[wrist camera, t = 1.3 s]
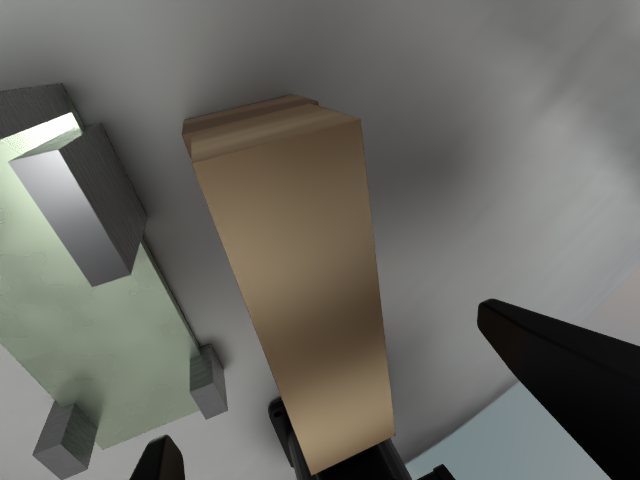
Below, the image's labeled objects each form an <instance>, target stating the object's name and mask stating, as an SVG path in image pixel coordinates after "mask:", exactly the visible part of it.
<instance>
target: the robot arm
mask: <svg viewBox="0 0 640 480" xmlns="http://www.w3.org/2000/svg"><path fill="white" fill-rule="evenodd" d="M477 325H478V328H479V330H480V331H481V333H482V334H483V335H484V336H485V338H486V339H487V340H488V342H489V343H490V344H491V346H492V347H493V348H494V349H495V351H496V352H497V353H498V355H499V356H500V357H501V359H502V360H503V361H504V362H505V364H506V365H507V366H508V368H509V369H510V370H511V371H512V373H513V374H514V375H515V376H516V377H517V378H518V379H519V381H520V382H521V383H522V384H523V385H524V386H525V387H526V388H527V389H528V390H529V391H530V392H531V393H532V395H533V396H534V397H535V398H536V399H537V400H538V401H539V402H540V403H541V404H542V405H543V406H544V407H545V409H546V410H547V411H548V412H549V413H550V414H551V415H552V416H553V417H554V418H555V419H556V420H557V421H558V423H559V424H560V425H561V426H562V427H563V428H564V429H565V430H566V431H567V432H568V433H569V434H570V435H571V436H572V438H573V439H574V440H575V441H576V442H577V443H578V444H579V445H580V446H581V447H582V448H583V449H584V450H585V452H586V453H587V454H588V455H589V456H590V457H591V458H592V459H593V460H594V461H595V462H596V463H597V464H598V465H599V467H600V468H601V469H602V470H603V471H604V472H605V473H606V474H607V475H608V476H609V477H610V478H611V479H612V480H640V346H637V345H634V344H631V343H628V342H625V341H621V340H619V339H616V338H613V337H610V336H607V335H604V334H601V333H597V332H594V331H591V330H588V329H585V328H582V327H579V326H576V325H573V324H570V323H567V322H564V321H561V320H558V319H555V318H552V317H549V316H545V315H542V314H539V313H536V312H533V311H530V310H527V309H524V308H521V307H518V306H515V305H512V304H509V303H506V302H503V301H500V300H497V299H488V300H486V301H483V302H481V303H480V304H479V306H478V316H477ZM268 412H269V417H270V419H271V422H272V424H273V426H274V429H275V431H276V433H277V436H278V438H279V440H280V442H281V445H282V447H283V449H284V452H285V454H286V456H287V458H288V461H289V463H290V465H291V467H293V468H294V469H295V473H296V477H297V480H412V478H411V476H410V474H409V472H408V471H407V469H406V467H405V465H404V463H403V461H402V459H401V458H400V456H399V454H398V452H397V450H396V448H395V446H394V445H393V443H392V441H391V439H390V438H388V439H386V440H384V441H382V442H380V443H378V444H376V445H374V446H372V447H370V448H368V449H366V450H364V451H362V452H360V453H357V454H355V455H353V456H351V457H349V458H347V459H345V460H343V461H341V462H339V463H337V464H335V465H333V466H331V467H328V468H326V469H324V470H322V471H320V472H318V473H316V474H314V475H311V473H310V470H309V467H308V465H307V462H306V460H305V457H304V455H303V452H302V449H301V447H300V444H299V442H298V439H297V436H296V434H295V431H294V429H293V426H292V423H291V421H290V418H289V416H288V413H287V410H286V408H285V405H284V403H283V400H281V401H278V402H276V403H274V404H272V405H271V406H270V407H269V409H268ZM129 480H185V473H184V463H183V457H182V454H181V452H180V450H179V449H178V447H177V446H176V444H175V443H174V442H173V440H172V439H171V438H170V436H169V435H163V436H161V437H158V438H156V439H153V440H152V441H150V442H149V443H148V445H147V446H146V448H145V450H144V452H143V454H142V456H141V458H140V460H139V462H138V464H137V466H136V468H135V470H134V472H133V474H132V476H131V478H130V479H129ZM417 480H455V478H454V477H453V476H452V475H451V473H450V472H449V471H448V469H447V468H446V467H445V466H444V465H443V464H441V465H439V466H437V467H435V468H434V469H433V472H431V473H429V474H427V475H425V476H423V477H421V478H419V479H417Z"/></svg>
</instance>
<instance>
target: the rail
mask: <svg viewBox="0 0 640 480" xmlns="http://www.w3.org/2000/svg"><path fill="white" fill-rule="evenodd" d="M191 157H192V166H193V169H194V171H195V174H196V177H197V179H198V182H199V184H200V187H201V190H202V192H203V195H204V197H205V200H206V203H207V205H208V208H209V210H210V213H211V216H212V218H213V221H214V223H215V226H216V229H217V231H218V234H219V236H220V239H221V242H222V244H223V247H224V249H225V252H226V255H227V257H228V260H229V262H230V265H231V267H232V270H233V273H234V275H235V278H236V280H237V283H238V286H239V288H240V291H241V293H242V296H243V299H244V301H245V304H246V306H247V309H248V312H249V314H250V317H251V319H252V322H253V325H254V327H255V330H256V332H257V335H258V338H259V340H260V343H261V345H262V348H263V351H264V353H265V356H266V358H267V361H268V364H269V366H270V369H271V371H272V374H273V377H274V379H275V382H276V384H277V387H278V390H279V392H280V395H281V397H282V400H283V403H284V405H285V408H286V410H287V413H288V416H289V418H290V421H291V423H292V426H293V429H294V431H295V434H296V436H297V439H298V442H299V444H300V447H301V449H302V452H303V455H304V457H305V460H306V462H307V465H308V467H309V470H310V473H311V475H314V474H316V473H318V472H320V471H322V470H324V469H326V468H328V467H331V466H333V465H335V464H337V463H339V462H341V461H343V460H345V459H347V458H349V457H351V456H353V455H355V454H357V453H360V452H362V451H364V450H366V449H368V448H370V447H372V446H374V445H376V444H378V443H380V442H382V441H384V440H386V439H388V438H391V437H393V436H395V427H394V418H393V408H392V399H391V390H390V381H389V372H388V363H387V354H386V345H385V336H384V327H383V318H382V309H381V300H380V291H379V282H378V273H377V264H376V255H375V245H374V236H373V227H372V218H371V209H370V200H369V191H368V182H367V173H366V164H365V155H364V146H363V137H362V128H361V119H359V118H355V117H352V116H349V115H346V114H343V113H339V112H336V111H333V110H330V109H326V108H323V107H320V106H317V105H313V104H306V105H302V106H298V107H294V108H290V109H286V110H282V111H277V112H273V113H269V114H265V115H261V116H257V117H253V118H249V119H245V120H241V121H237V122H233V123H229V124H225V125H221V126H217V127H213V128H208V129H204V130H200V131H196V132H192V133H191Z"/></svg>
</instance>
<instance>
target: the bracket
mask: <svg viewBox="0 0 640 480" xmlns="http://www.w3.org/2000/svg"><path fill="white" fill-rule="evenodd" d="M146 221H147V215H146V213H145V211H144V209H143V207H142V205H141V203H140V201H139V199H138V197H137V195H136V193H135V191H134V189H133V187H132V185H131V183H130V181H129V179H128V177H127V175H126V173H125V171H124V169H123V167H122V165H121V163H120V161H119V159H118V157H117V155H116V153H115V151H114V149H113V147H112V145H111V143H110V141H109V139H108V136H107V134H106V132H105V130H104V128H103V126H102V124H101V123H98V124H94V125H89V126H85V127H84V125H83V123H82V121H81V119H80V117H79V115H78V113H77V112H76V110H75V108H74V106H73V104H72V102H71V100H70V98H69V96H68V94H67V92H66V91H65V89H64V87H63V85H62V83H60V84H52V85H44V86H36V87H29V88H21V89H13V90H6V91H0V343H1V344H2V345H3V346H4V347H5V348H6V349H7V350H8V351H9V352H10V353H11V354H12V356H13V357H14V358H15V359H16V360H17V361H18V362H19V363H20V364H21V365H22V366H23V367H24V368H25V369H26V370H27V371H28V372H29V373H30V374H31V375H32V376H33V377H34V378H35V380H36V381H37V382H38V383H39V384H40V385H41V386H42V387H43V388H44V389H45V390H46V391H47V392H48V393H49V394H50V395H51V396H52V397H53V398H54V399H55V400H56V402H54V403H53V405H52V408H51V410H50V413H49V415H48V418H47V420H46V423H45V425H44V428H43V430H42V432H41V435H40V437H39V440H38V442H37V445H36V447H35V450H34V452H33V456H34V457H35V458H36V459H37V460H38V461H40V462H41V463H42V464H43V465H44V466H46V467H47V468H48V469H49V470H50V471H51V472H53V473H54V474H55V475H56V476H57V477H59V478H60V479H61V480H63V479H66V478H68V477H71V476H73V475H75V474H78V473H80V472H82V471H85V470H87V469H88V465H89V462H90V458H91V454H92V450H93V446H94V442H96V443H97V444H98V445H99V446H100V447H101V448H102V450H104V449H106V448H109V447H111V446H113V445H116V444H118V443H121V442H123V441H126V440H128V439H130V438H133V437H135V436H138V435H140V434H143V433H145V432H147V431H150V430H152V429H155V428H157V427H159V426H162V425H164V424H167V423H169V422H172V421H174V420H176V419H179V418H181V417H184V416H186V415H189V414H191V413H193V412H196V411H198V410H201V412H202V414H203V415H204V417H205V419H209V418H211V417H214V416H216V415H218V414H221V413H223V412H226V411H228V407H227V397H226V388H225V379H224V370H223V368H222V366H221V364H220V362H219V360H218V358H217V356H216V354H215V352H214V350H213V348H212V346H211V344H208V345H206V346H203V347H199V345H198V343H197V341H196V339H195V337H194V335H193V333H192V331H191V329H190V327H189V325H188V324H187V322H186V320H185V318H184V316H183V314H182V312H181V310H180V308H179V306H178V304H177V303H176V301H175V299H174V297H173V295H172V293H171V291H170V289H169V287H168V285H167V283H166V282H165V280H164V278H163V276H162V274H161V272H160V270H159V268H158V266H157V264H156V262H155V261H154V259H153V257H152V255H151V253H150V251H149V249H148V247H147V245H146V243H145V241H144V240H143V238H142V235H143V231H144V228H145V224H146Z"/></svg>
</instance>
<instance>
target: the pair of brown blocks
mask: <svg viewBox="0 0 640 480" xmlns="http://www.w3.org/2000/svg"><path fill="white" fill-rule="evenodd" d="M306 104H313V105H317V106H319V105H318V101H314V100H311V99H307V98H303V97H300V96H296V95H288V96H284V97H279V98H275V99H271V100H267V101H263V102H258V103H254V104H250V105H246V106H242V107H237V108H233V109H229V110H225V111H221V112H216V113H212V114H208V115H204V116H200V117H195V118H191V119H187V120H184V123H183V131H182V136H183V139H184V141H185V144H186V147H187V149H188V152H189V154H190V157H191V133H192V132H196V131H200V130H204V129H208V128H213V127H217V126H221V125H225V124H229V123H233V122H237V121H241V120H245V119H249V118H253V117H257V116H261V115H265V114H269V113H273V112H277V111H282V110H286V109H290V108H294V107H298V106H302V105H306ZM191 160H192V157H191Z"/></svg>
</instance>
